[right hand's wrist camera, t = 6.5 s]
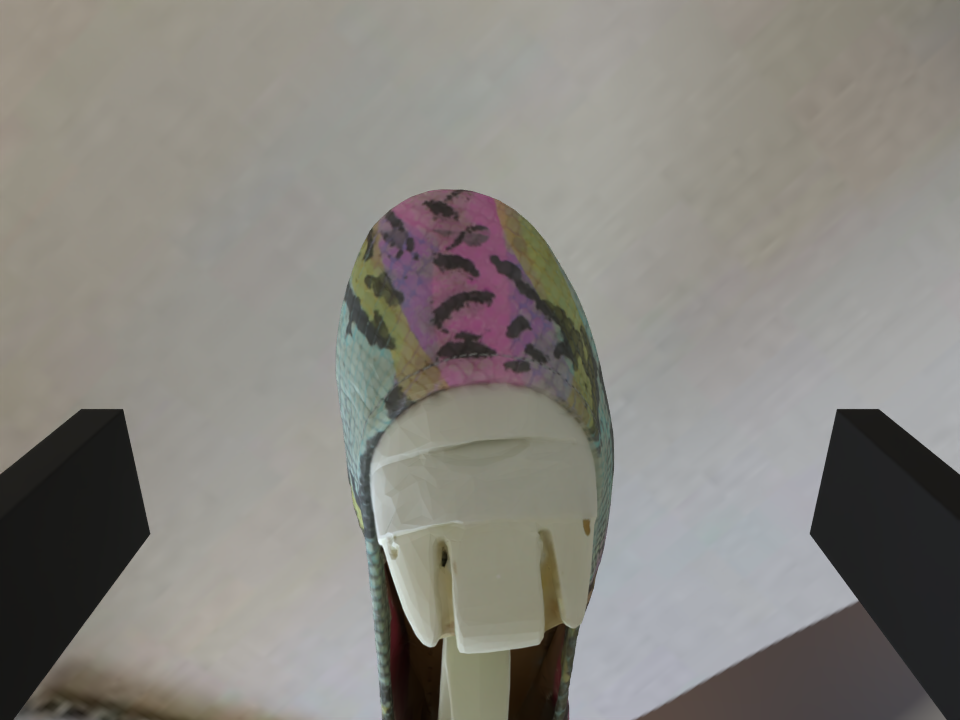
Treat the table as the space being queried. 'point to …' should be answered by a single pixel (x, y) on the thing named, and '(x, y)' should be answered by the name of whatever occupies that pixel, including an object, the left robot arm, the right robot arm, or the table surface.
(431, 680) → the ballet flat
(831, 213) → the table surface
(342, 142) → the table surface
